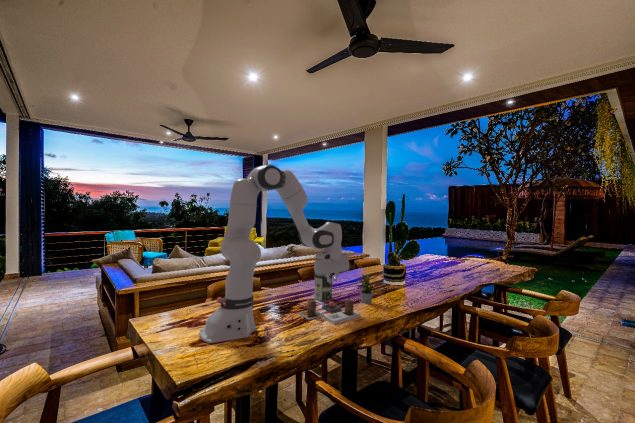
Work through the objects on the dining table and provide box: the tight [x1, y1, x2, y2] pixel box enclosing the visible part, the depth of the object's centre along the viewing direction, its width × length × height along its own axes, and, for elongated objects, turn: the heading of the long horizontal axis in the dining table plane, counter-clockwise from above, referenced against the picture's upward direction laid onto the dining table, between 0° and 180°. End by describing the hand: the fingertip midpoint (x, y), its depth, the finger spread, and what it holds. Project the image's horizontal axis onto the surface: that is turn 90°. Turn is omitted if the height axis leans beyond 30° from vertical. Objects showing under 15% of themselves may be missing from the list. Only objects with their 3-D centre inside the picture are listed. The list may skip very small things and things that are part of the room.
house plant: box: [355, 273, 379, 306], centre depth 164 cm, size 14×14×16 cm
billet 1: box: [306, 299, 317, 318], centre depth 141 cm, size 4×4×7 cm
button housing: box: [321, 303, 342, 314], centre depth 150 cm, size 7×7×2 cm
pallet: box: [323, 310, 361, 325], centre depth 138 cm, size 16×7×2 cm, turn 125°
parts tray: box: [298, 310, 326, 321], centre depth 141 cm, size 9×9×2 cm
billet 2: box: [344, 299, 354, 316], centre depth 140 cm, size 4×4×7 cm
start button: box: [328, 300, 335, 308], centre depth 150 cm, size 3×3×3 cm
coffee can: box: [313, 273, 334, 302], centre depth 169 cm, size 10×10×14 cm
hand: (332, 281), depth 149 cm, fingers open, 2 cm apart
